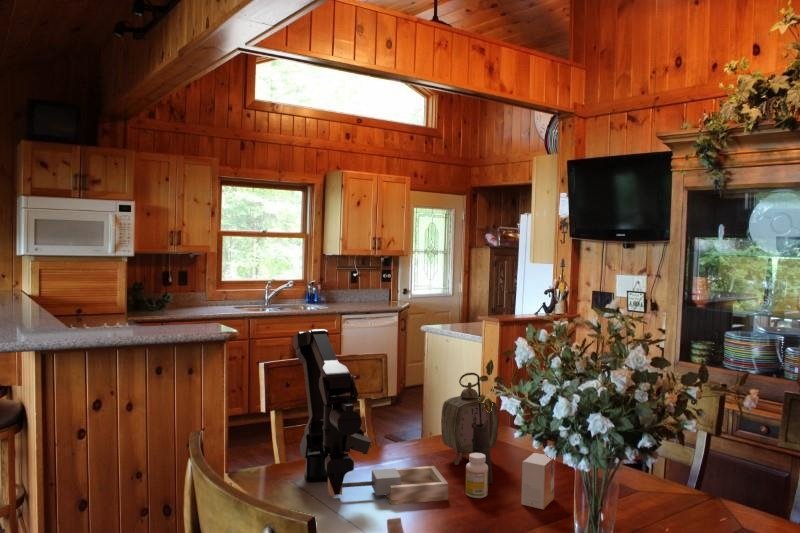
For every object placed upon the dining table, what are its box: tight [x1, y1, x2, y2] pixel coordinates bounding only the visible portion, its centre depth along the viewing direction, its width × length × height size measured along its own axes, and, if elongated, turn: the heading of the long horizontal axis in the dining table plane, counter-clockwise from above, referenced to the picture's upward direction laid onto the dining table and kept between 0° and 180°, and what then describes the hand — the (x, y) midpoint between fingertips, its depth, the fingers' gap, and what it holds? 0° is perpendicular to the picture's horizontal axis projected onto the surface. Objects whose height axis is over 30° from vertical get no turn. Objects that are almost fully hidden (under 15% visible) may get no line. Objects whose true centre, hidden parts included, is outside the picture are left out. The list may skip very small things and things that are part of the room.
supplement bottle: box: [465, 453, 489, 499], centre depth 155 cm, size 5×5×10 cm
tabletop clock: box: [440, 372, 499, 466], centre depth 180 cm, size 14×9×25 cm, turn 118°
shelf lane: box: [385, 465, 449, 505], centre depth 156 cm, size 14×12×4 cm
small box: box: [520, 452, 556, 510], centre depth 152 cm, size 8×6×10 cm
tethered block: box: [327, 467, 401, 496], centre depth 153 cm, size 17×6×4 cm, turn 103°
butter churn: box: [472, 374, 493, 486], centre depth 164 cm, size 9×10×28 cm
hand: (334, 488), depth 151 cm, fingers open, 8 cm apart
